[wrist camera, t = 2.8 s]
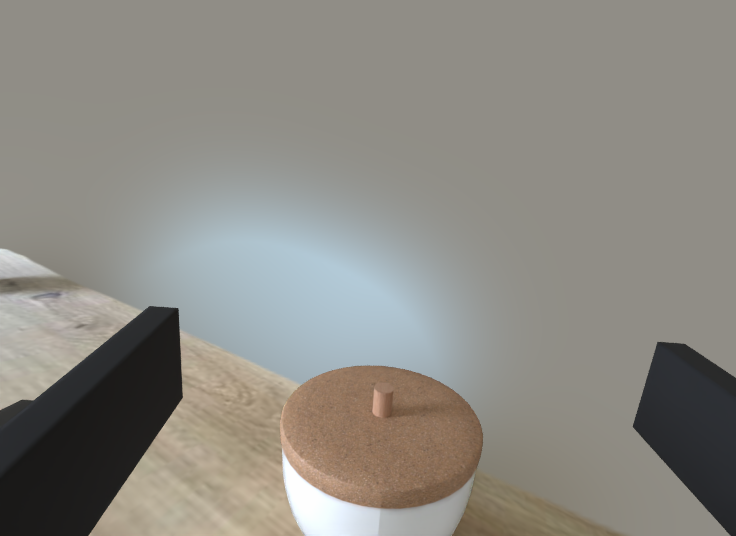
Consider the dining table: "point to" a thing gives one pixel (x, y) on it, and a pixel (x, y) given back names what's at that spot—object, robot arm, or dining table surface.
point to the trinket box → (378, 453)
